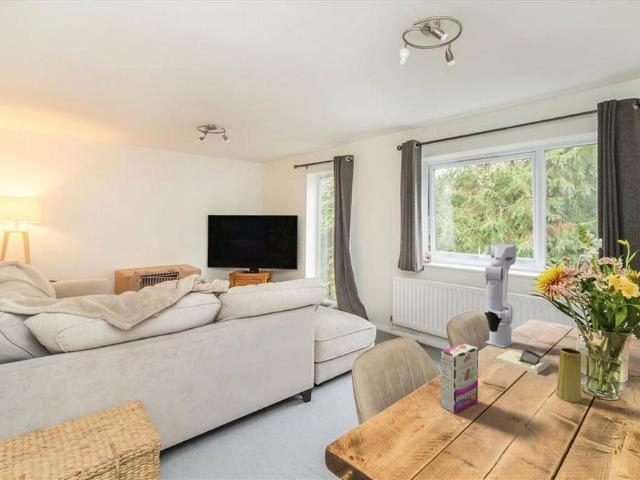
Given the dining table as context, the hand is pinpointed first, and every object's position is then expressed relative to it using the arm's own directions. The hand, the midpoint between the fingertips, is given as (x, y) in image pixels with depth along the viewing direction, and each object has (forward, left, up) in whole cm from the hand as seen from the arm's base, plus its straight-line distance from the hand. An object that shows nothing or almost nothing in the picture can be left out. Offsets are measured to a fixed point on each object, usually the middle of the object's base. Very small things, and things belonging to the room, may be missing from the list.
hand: (493, 331), depth 133 cm
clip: (-3, +12, -9) cm, 15 cm away
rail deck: (-2, +10, -10) cm, 14 cm away
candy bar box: (+44, +11, -10) cm, 46 cm away
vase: (+14, +29, -10) cm, 34 cm away
